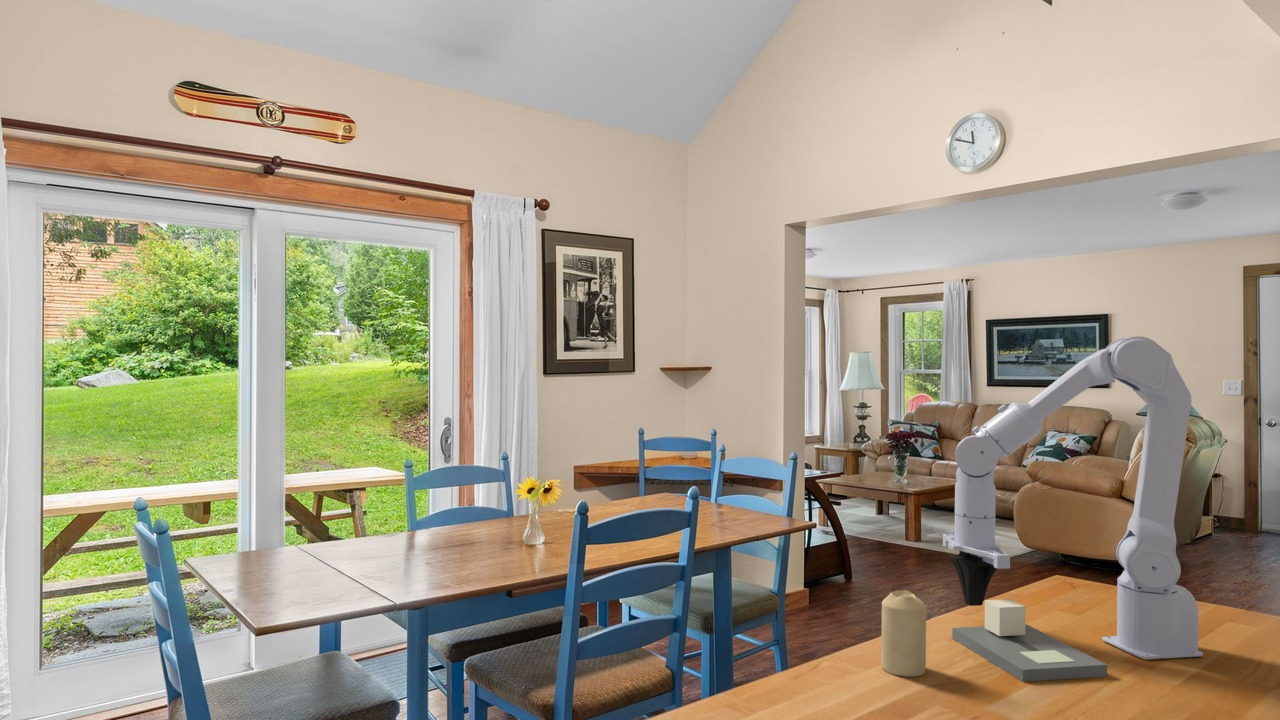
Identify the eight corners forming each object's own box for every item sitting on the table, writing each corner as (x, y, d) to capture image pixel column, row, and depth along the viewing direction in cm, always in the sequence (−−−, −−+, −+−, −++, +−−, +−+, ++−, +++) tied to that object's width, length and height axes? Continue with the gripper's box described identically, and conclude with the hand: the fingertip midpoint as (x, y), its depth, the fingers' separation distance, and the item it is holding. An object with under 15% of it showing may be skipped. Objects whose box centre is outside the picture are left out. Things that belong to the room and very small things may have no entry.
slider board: (1026, 634, 118) (1026, 623, 118) (1107, 676, 102) (1107, 663, 102) (952, 638, 116) (952, 627, 116) (1022, 681, 100) (1022, 668, 100)
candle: (928, 679, 101) (929, 600, 101) (883, 675, 102) (884, 597, 102) (922, 663, 106) (922, 588, 106) (879, 659, 107) (879, 585, 107)
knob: (1009, 626, 115) (1009, 599, 115) (1025, 634, 112) (1025, 606, 112) (984, 627, 115) (984, 600, 115) (999, 636, 111) (999, 607, 111)
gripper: (925, 506, 127) (924, 591, 127) (978, 525, 113) (977, 620, 113) (966, 506, 129) (965, 590, 128) (1023, 524, 114) (1022, 618, 114)
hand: (973, 604), depth 121 cm, fingers closed
